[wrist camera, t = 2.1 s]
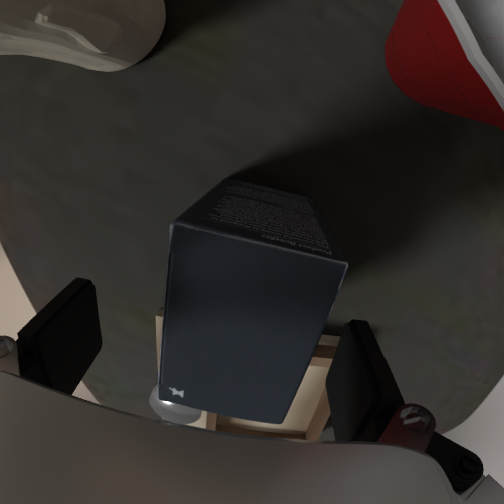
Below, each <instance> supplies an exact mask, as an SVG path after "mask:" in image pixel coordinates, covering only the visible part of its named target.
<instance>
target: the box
mask: <svg viewBox="0 0 504 504" xmlns="http://www.w3.org/2000/svg"><path fill="white" fill-rule="evenodd" d="M347 267H348V263H347V262H346V260H345V258H344V257H343V255H342V253H341V251H340V249H339V248H338V246H337V244H336V242H335V240H334V238H333V236H332V234H331V232H330V230H329V229H328V227H327V225H326V223H325V221H324V220H323V218H322V216H321V214H320V212H319V210H318V209H317V207H316V205H315V203H314V201H313V200H312V199H311V198H309V197H305V196H301V195H297V194H294V193H290V192H286V191H282V190H278V189H274V188H270V187H265V186H261V185H257V184H253V183H249V182H245V181H240V180H237V179H232V178H225V179H223V180H222V181H221V182H220V183H218V184H217V185H216V186H215V187H214V188H213V189H211V190H210V191H209V192H208V193H206V194H205V195H204V196H203V197H202V198H201V199H199V200H198V201H197V202H196V203H194V204H193V205H192V206H191V207H189V208H188V209H187V210H186V211H185V212H184V213H182V214H181V215H180V216H179V217H178V218H176V219H175V220H174V221H173V222H172V223H171V224H170V227H169V250H168V261H167V274H166V282H165V292H164V308H163V321H162V331H161V344H160V359H159V373H158V384H157V396H158V398H159V400H162V401H167V402H171V403H176V404H180V405H183V406H187V407H190V408H195V409H198V410H202V411H206V412H211V413H215V414H219V415H223V416H228V417H233V418H238V419H243V420H249V421H255V422H262V423H270V424H282V423H283V422H284V420H285V417H286V415H287V413H288V411H289V409H290V407H291V404H292V402H293V400H294V398H295V396H296V394H297V391H298V389H299V387H300V385H301V383H302V380H303V378H304V376H305V373H306V371H307V369H308V367H309V364H310V362H311V360H312V357H313V355H314V352H315V350H316V348H317V345H318V343H319V340H320V338H321V335H322V333H323V331H324V328H325V326H326V323H327V320H328V318H329V315H330V312H331V310H332V307H333V305H334V302H335V300H336V296H337V294H338V291H339V288H340V286H341V283H342V281H343V278H344V275H345V273H346V270H347Z"/></svg>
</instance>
